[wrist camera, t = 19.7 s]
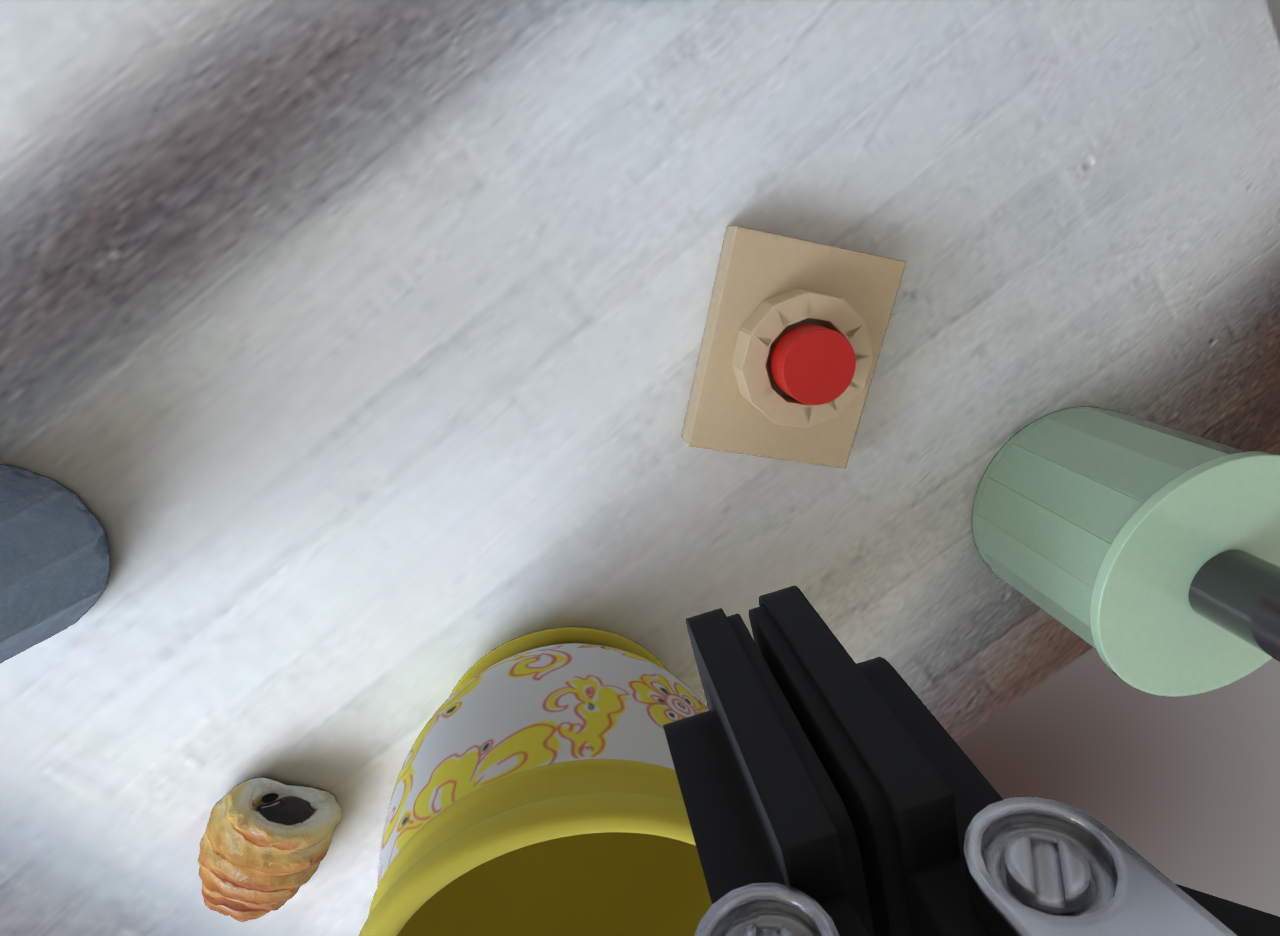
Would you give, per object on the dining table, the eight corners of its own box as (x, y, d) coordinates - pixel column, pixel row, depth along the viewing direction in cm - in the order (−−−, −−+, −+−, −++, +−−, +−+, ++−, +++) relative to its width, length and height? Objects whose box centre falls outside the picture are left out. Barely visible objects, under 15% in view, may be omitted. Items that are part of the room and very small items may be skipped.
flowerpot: (425, 849, 44) (372, 1183, 29) (392, 598, 38) (303, 849, 23) (703, 815, 47) (790, 1103, 31) (712, 575, 41) (825, 785, 25)
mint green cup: (964, 438, 40) (1097, 502, 31) (1150, 382, 41) (1334, 429, 32) (978, 607, 45) (1098, 708, 35) (1146, 554, 45) (1308, 640, 36)
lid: (1077, 491, 31) (1240, 570, 24) (1331, 414, 32) (1563, 468, 25) (1081, 712, 36) (1219, 834, 29) (1304, 640, 37) (1493, 741, 30)
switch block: (726, 225, 34) (747, 225, 31) (890, 260, 36) (926, 263, 33) (680, 437, 38) (695, 457, 34) (833, 459, 39) (860, 480, 36)
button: (780, 317, 33) (793, 322, 32) (849, 330, 34) (865, 336, 32) (762, 391, 34) (774, 399, 33) (829, 402, 35) (844, 410, 33)
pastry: (296, 903, 44) (276, 963, 40) (183, 878, 42) (151, 938, 38) (352, 791, 42) (335, 844, 38) (236, 759, 40) (207, 811, 36)
